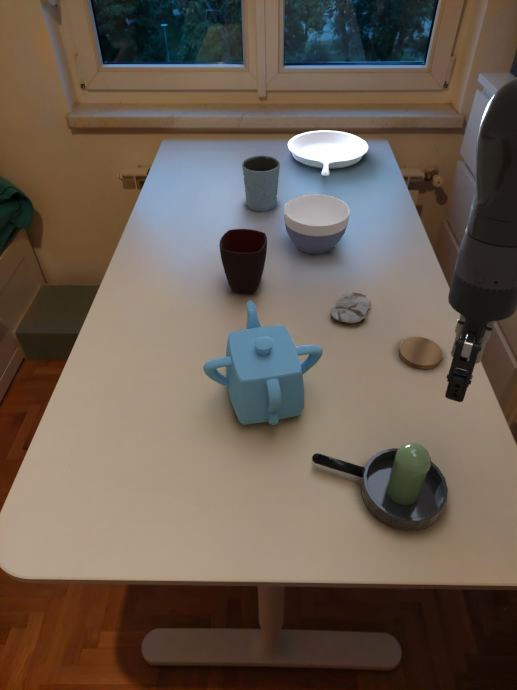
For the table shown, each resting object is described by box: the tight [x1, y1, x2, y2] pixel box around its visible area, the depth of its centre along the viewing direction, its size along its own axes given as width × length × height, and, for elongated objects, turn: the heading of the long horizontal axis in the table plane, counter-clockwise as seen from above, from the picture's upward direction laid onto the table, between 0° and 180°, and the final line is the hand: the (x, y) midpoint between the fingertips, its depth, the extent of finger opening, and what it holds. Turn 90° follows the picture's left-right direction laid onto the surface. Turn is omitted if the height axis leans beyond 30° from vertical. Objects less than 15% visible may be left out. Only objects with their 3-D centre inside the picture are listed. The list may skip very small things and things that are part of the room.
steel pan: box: [360, 447, 449, 532], centre depth 75 cm, size 12×12×3 cm
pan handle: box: [311, 452, 365, 479], centre depth 77 cm, size 9×2×2 cm, turn 69°
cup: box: [218, 228, 268, 295], centre depth 111 cm, size 10×14×12 cm
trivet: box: [398, 336, 443, 370], centre depth 97 cm, size 8×8×1 cm
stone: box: [330, 292, 372, 324], centre depth 106 cm, size 10×7×3 cm
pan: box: [287, 129, 369, 177], centre depth 161 cm, size 26×39×5 cm
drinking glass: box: [241, 155, 281, 212], centre depth 138 cm, size 10×10×12 cm
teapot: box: [202, 300, 323, 426], centre depth 86 cm, size 18×16×14 cm
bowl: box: [283, 193, 351, 255], centre depth 124 cm, size 16×16×10 cm
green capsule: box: [386, 442, 432, 505], centre depth 72 cm, size 5×5×10 cm
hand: (460, 378), depth 66 cm, fingers open, 8 cm apart
